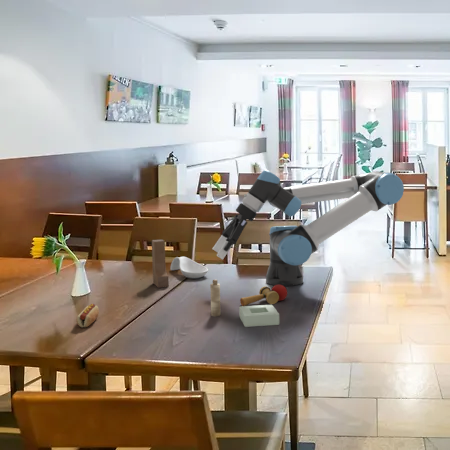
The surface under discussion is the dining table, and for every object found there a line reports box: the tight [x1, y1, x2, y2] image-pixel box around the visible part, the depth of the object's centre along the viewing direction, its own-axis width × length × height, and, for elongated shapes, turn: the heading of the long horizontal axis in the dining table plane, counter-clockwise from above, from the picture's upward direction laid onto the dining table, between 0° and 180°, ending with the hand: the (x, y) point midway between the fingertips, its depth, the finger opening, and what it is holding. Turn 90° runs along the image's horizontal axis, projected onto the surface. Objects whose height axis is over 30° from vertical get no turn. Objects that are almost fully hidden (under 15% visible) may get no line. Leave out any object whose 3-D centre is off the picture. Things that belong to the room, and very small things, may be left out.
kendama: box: [239, 285, 288, 306], centre depth 221 cm, size 8×6×18 cm
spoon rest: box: [169, 256, 209, 279], centre depth 268 cm, size 24×12×7 cm, turn 34°
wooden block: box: [151, 238, 170, 289], centre depth 249 cm, size 9×4×18 cm, turn 19°
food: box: [75, 303, 100, 328], centre depth 201 cm, size 14×6×5 cm, turn 178°
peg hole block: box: [238, 304, 280, 328], centre depth 202 cm, size 11×16×4 cm
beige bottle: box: [209, 279, 221, 317], centre depth 206 cm, size 3×3×12 cm
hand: (217, 254), depth 232 cm, fingers open, 13 cm apart
